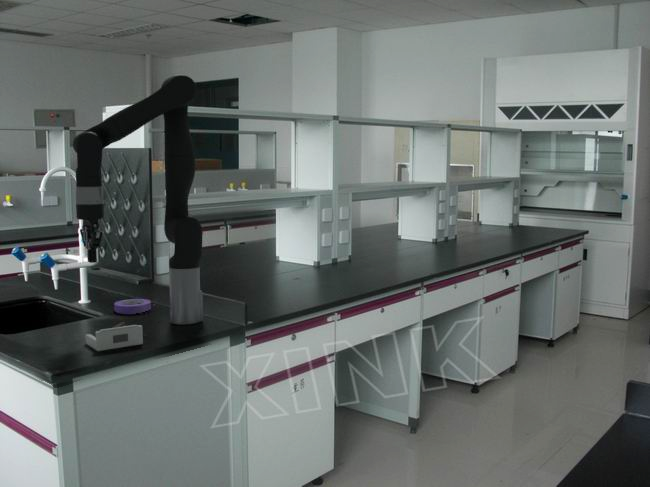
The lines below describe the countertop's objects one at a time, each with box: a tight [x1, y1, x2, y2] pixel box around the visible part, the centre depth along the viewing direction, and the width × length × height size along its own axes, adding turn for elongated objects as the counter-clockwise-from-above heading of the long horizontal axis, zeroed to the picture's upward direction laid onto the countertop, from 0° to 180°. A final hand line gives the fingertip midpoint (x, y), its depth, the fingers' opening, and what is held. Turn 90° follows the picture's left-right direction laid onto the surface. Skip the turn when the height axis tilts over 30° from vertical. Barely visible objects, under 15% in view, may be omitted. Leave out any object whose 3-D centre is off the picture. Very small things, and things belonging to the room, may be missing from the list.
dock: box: [85, 324, 144, 352], centre depth 185 cm, size 12×10×5 cm
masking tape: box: [113, 298, 152, 315], centre depth 224 cm, size 12×12×4 cm
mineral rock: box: [111, 321, 127, 328], centre depth 191 cm, size 11×4×8 cm
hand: (92, 262), depth 195 cm, fingers closed
